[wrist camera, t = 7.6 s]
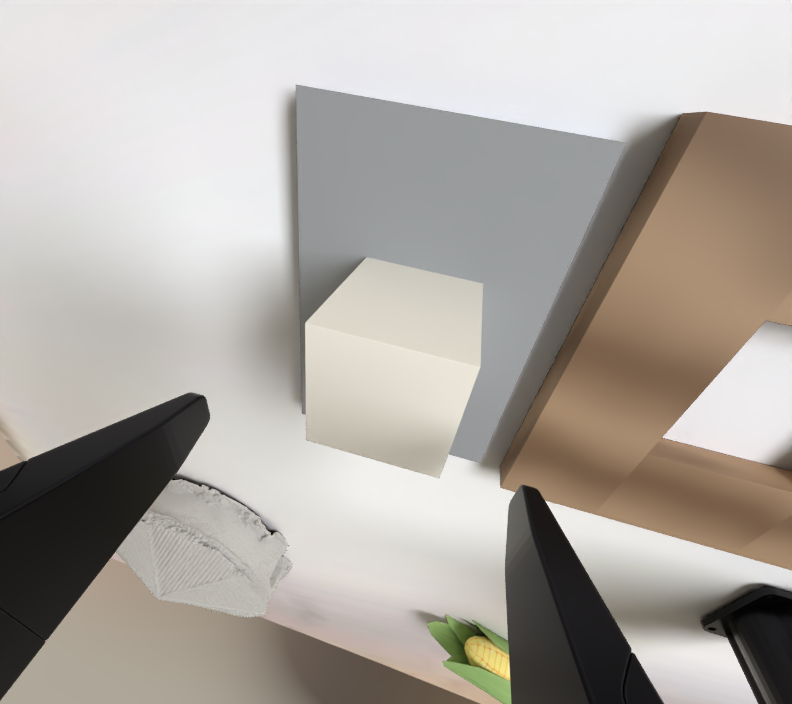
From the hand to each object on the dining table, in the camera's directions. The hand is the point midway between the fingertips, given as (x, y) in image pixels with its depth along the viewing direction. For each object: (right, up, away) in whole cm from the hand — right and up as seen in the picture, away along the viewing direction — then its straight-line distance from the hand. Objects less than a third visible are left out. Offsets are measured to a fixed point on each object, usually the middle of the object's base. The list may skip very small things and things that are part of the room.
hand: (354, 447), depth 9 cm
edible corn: (+13, -28, +26) cm, 40 cm away
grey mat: (+2, +5, +7) cm, 9 cm away
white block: (+2, +4, +6) cm, 8 cm away
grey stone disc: (-19, -16, +27) cm, 37 cm away
